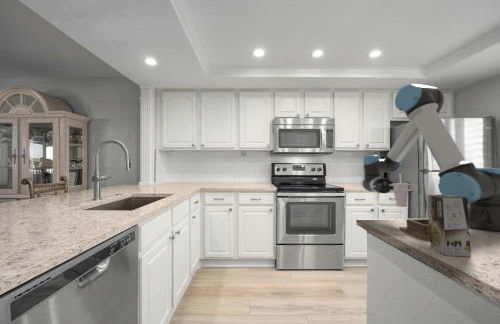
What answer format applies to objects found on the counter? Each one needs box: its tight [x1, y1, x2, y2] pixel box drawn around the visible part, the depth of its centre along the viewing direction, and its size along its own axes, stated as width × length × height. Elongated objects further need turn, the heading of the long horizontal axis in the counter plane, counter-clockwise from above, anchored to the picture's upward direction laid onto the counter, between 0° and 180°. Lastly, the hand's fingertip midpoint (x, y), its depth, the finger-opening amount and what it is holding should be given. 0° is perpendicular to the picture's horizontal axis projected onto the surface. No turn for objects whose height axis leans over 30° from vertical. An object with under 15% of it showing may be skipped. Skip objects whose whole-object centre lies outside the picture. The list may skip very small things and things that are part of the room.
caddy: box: [399, 218, 430, 242], centre depth 92 cm, size 14×16×4 cm
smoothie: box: [392, 173, 409, 208], centre depth 108 cm, size 6×6×14 cm
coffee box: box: [426, 194, 472, 257], centre depth 74 cm, size 9×6×16 cm
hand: (407, 187), depth 103 cm, fingers closed on smoothie, 6 cm apart
